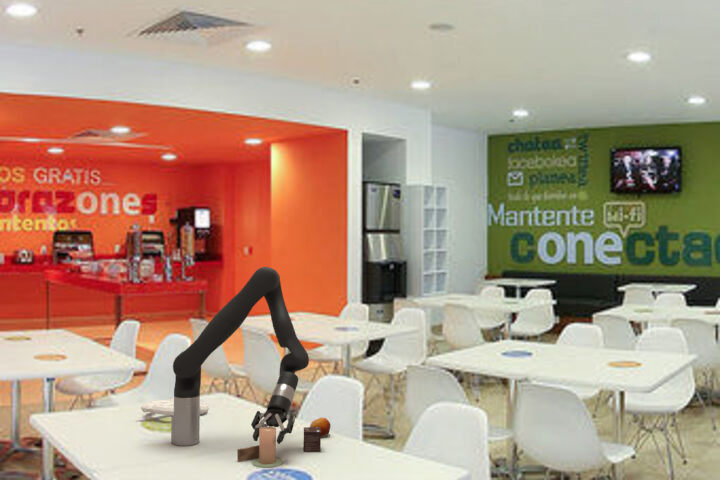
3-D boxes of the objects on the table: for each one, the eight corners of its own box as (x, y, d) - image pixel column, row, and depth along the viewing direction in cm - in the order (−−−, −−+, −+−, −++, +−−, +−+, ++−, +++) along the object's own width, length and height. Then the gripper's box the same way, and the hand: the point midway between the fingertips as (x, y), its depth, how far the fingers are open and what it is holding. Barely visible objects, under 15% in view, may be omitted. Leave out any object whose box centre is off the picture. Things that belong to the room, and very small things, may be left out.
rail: (239, 461, 261) (239, 450, 261) (237, 461, 262) (237, 449, 262) (274, 454, 269) (275, 443, 269) (273, 454, 270) (273, 442, 270)
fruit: (332, 435, 289) (322, 416, 290) (314, 445, 291) (304, 426, 292) (337, 430, 297) (327, 412, 298) (320, 439, 299) (310, 421, 300)
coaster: (247, 465, 257) (247, 464, 257) (260, 457, 266) (260, 456, 266) (274, 469, 253) (274, 467, 253) (287, 460, 263) (287, 459, 263)
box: (303, 447, 279) (303, 427, 279) (320, 447, 280) (320, 426, 279) (303, 452, 273) (303, 431, 273) (320, 452, 273) (320, 431, 273)
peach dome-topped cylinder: (256, 463, 258) (256, 430, 258) (263, 458, 264) (263, 426, 263) (271, 464, 256) (271, 431, 256) (278, 460, 262) (278, 427, 262)
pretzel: (163, 410, 340) (165, 395, 340) (214, 415, 335) (215, 400, 335) (132, 416, 312) (133, 400, 313) (187, 422, 308) (188, 405, 308)
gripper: (259, 392, 270) (243, 433, 259) (297, 395, 265) (283, 437, 254) (265, 404, 275) (250, 445, 264) (303, 407, 270) (289, 449, 260)
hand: (266, 441), depth 259 cm, fingers open, 8 cm apart
